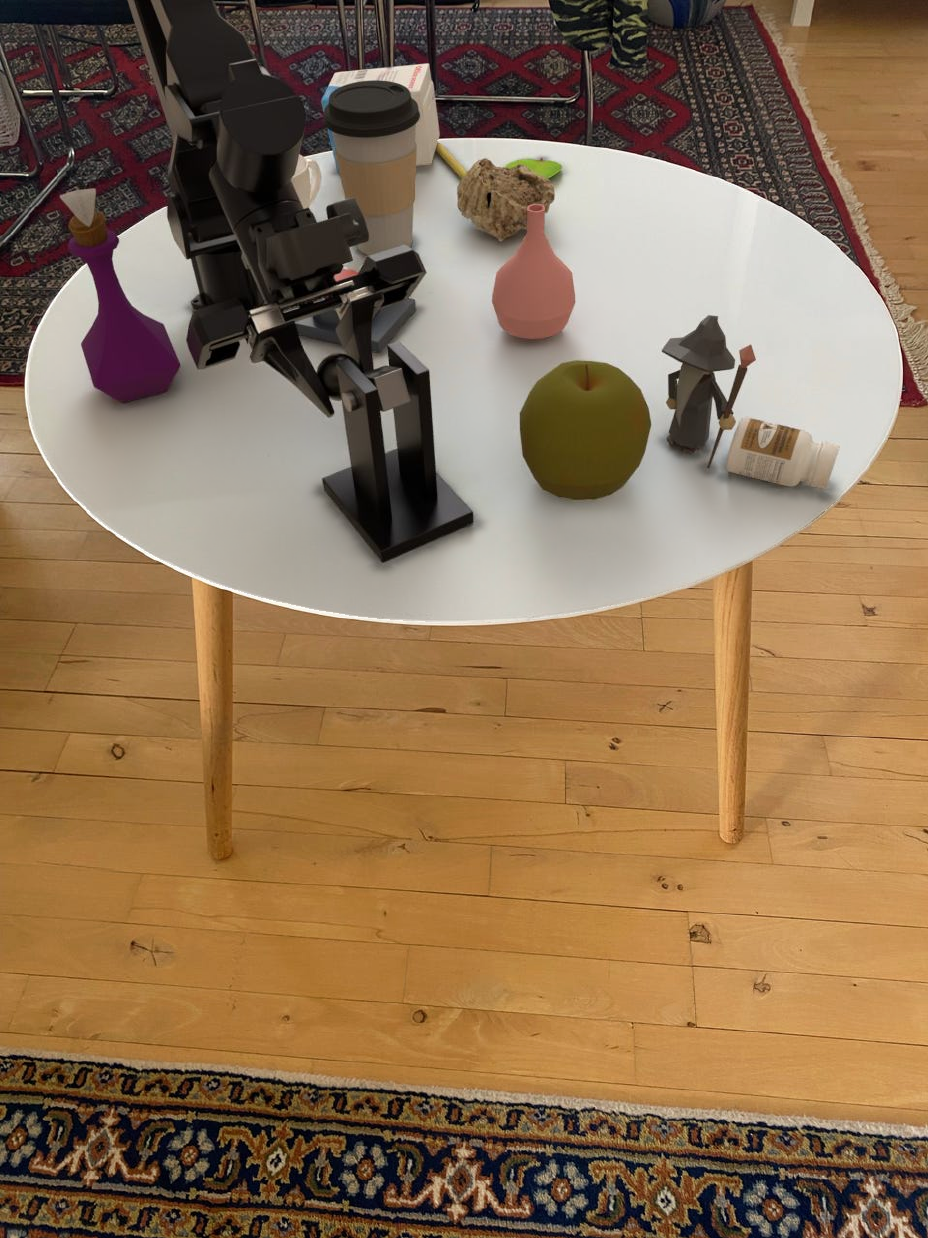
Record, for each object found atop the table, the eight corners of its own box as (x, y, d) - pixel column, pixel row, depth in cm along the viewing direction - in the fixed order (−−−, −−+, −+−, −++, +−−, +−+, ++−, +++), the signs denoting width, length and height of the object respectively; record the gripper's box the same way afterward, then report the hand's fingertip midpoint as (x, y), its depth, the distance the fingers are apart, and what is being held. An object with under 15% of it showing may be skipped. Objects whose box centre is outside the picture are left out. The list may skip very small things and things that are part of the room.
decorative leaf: (579, 175, 115) (580, 166, 114) (521, 198, 111) (521, 189, 111) (537, 156, 119) (537, 148, 118) (479, 178, 116) (479, 169, 115)
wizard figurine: (637, 442, 82) (653, 311, 73) (676, 411, 84) (697, 281, 75) (722, 485, 78) (750, 353, 69) (761, 452, 80) (793, 320, 71)
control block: (277, 329, 95) (272, 301, 93) (318, 289, 100) (314, 261, 97) (379, 353, 92) (376, 324, 90) (416, 310, 97) (414, 281, 94)
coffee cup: (444, 236, 106) (437, 87, 95) (394, 275, 101) (380, 122, 90) (374, 216, 110) (359, 70, 99) (321, 252, 105) (300, 103, 94)
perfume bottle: (91, 374, 91) (20, 178, 77) (172, 354, 93) (116, 159, 79) (105, 418, 86) (32, 219, 73) (189, 396, 88) (134, 197, 75)
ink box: (336, 174, 117) (432, 166, 115) (319, 99, 111) (420, 89, 109) (350, 143, 123) (441, 135, 121) (334, 70, 117) (430, 60, 115)
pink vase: (537, 364, 90) (541, 238, 81) (475, 334, 93) (472, 210, 84) (590, 328, 93) (599, 204, 84) (528, 301, 97) (531, 179, 88)
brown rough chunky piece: (483, 274, 106) (569, 232, 103) (454, 222, 101) (544, 176, 98) (471, 215, 113) (552, 174, 110) (444, 163, 107) (528, 119, 104)
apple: (551, 538, 74) (557, 419, 66) (497, 464, 80) (496, 346, 72) (665, 500, 77) (685, 381, 69) (605, 431, 83) (616, 314, 75)
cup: (232, 229, 109) (219, 167, 104) (302, 197, 113) (293, 137, 108) (276, 252, 105) (264, 189, 100) (346, 218, 110) (339, 156, 105)
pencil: (427, 142, 121) (433, 146, 122) (469, 188, 113) (476, 193, 113) (432, 135, 121) (438, 139, 122) (475, 181, 112) (481, 185, 113)
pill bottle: (745, 404, 77) (846, 427, 75) (735, 447, 81) (831, 471, 79) (730, 438, 75) (834, 463, 73) (721, 481, 78) (820, 506, 76)
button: (318, 301, 93) (315, 283, 92) (336, 282, 95) (334, 265, 94) (352, 308, 92) (350, 291, 91) (369, 289, 94) (367, 272, 93)
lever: (317, 404, 78) (303, 359, 77) (358, 389, 80) (344, 345, 78) (377, 423, 68) (362, 373, 67) (422, 406, 69) (408, 356, 68)
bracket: (323, 489, 79) (299, 350, 70) (410, 454, 82) (398, 316, 72) (382, 563, 73) (364, 422, 64) (474, 523, 76) (469, 382, 66)
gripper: (156, 202, 65) (255, 419, 66) (402, 134, 72) (489, 334, 73) (151, 271, 76) (237, 458, 77) (366, 207, 82) (443, 381, 83)
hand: (352, 407), depth 77 cm, fingers closed on lever, 3 cm apart
